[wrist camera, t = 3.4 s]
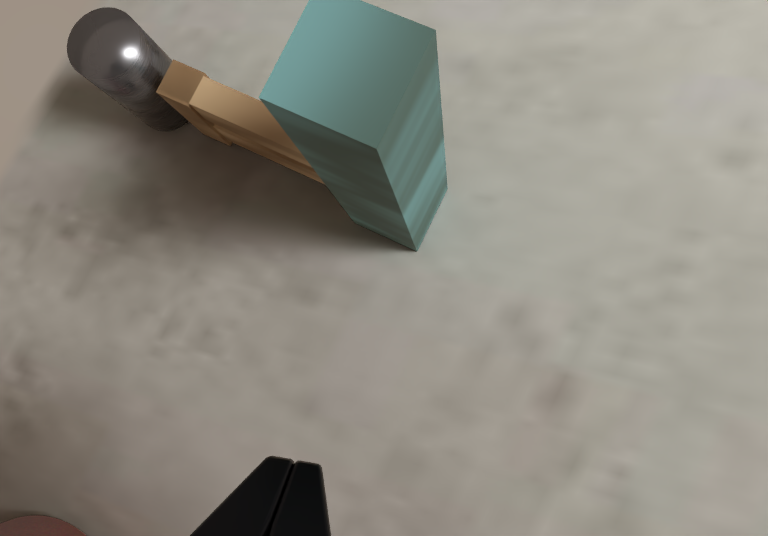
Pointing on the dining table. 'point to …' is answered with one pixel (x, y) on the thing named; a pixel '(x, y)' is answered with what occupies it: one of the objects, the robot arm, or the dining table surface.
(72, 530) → the beverage can
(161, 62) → the hinge post
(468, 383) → the dining table surface
